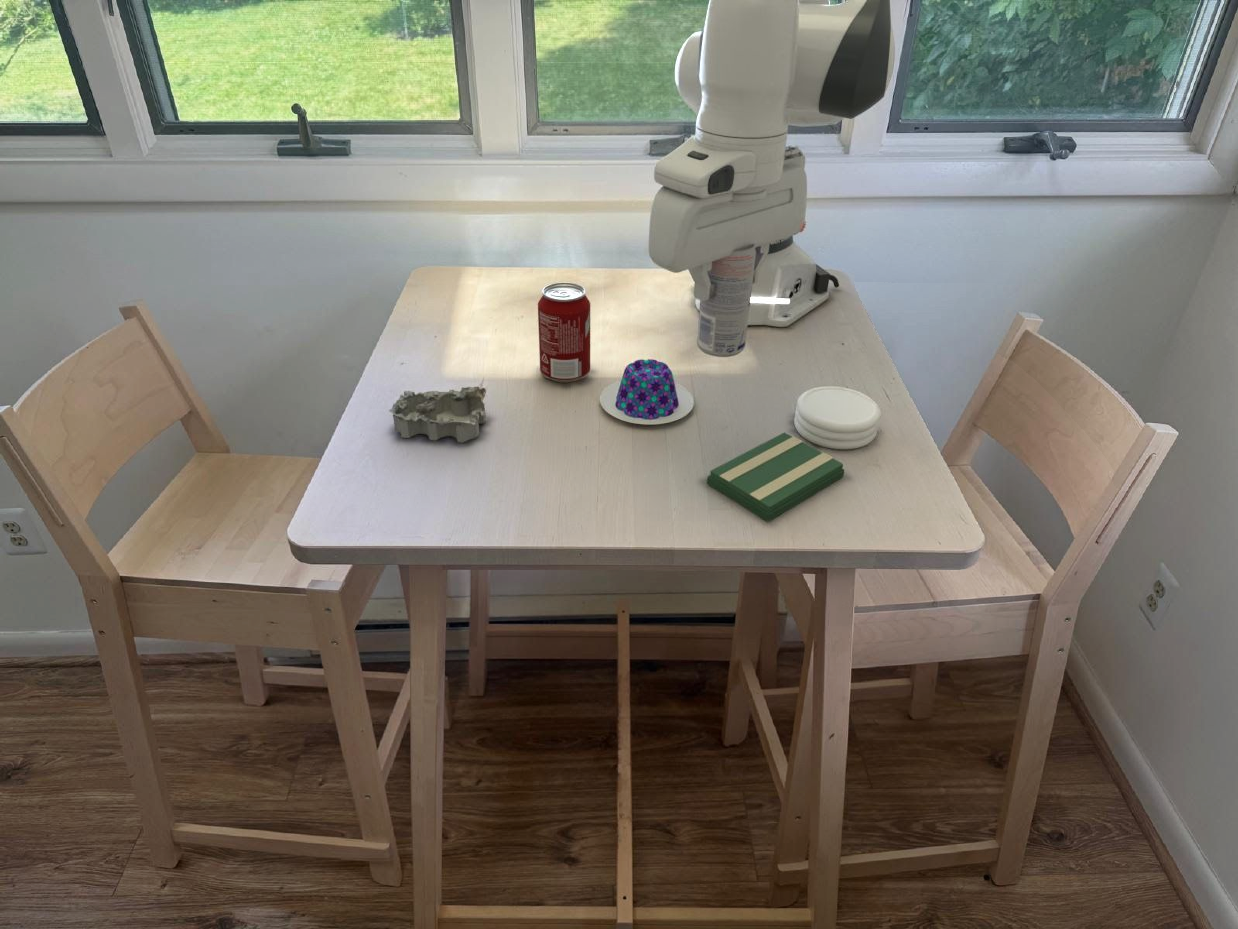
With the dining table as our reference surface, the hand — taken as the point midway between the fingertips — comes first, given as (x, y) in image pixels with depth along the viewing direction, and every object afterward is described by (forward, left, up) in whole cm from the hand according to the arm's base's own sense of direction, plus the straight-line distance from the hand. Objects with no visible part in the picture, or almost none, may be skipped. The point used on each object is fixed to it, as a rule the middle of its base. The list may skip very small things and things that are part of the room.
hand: (725, 290), depth 93 cm
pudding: (0, -12, -20) cm, 23 cm away
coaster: (-14, +7, -20) cm, 25 cm away
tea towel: (0, +10, -19) cm, 22 cm away
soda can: (+3, -25, -20) cm, 32 cm away
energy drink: (0, 0, -7) cm, 7 cm away
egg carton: (+23, -24, -20) cm, 38 cm away
